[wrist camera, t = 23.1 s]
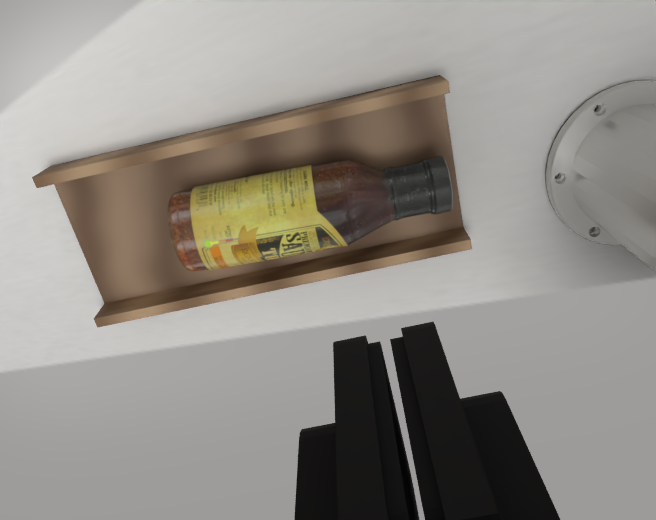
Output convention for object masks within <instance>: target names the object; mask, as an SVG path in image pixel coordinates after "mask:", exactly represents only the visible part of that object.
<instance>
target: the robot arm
mask: <svg viewBox="0 0 656 520" xmlns="http://www.w3.org/2000/svg"><path fill="white" fill-rule="evenodd" d="M596 105H598V109H597V110H596V111H594V108H595V106H596ZM558 173H559V176H558V177H557V178H555V176H556V175H557V174H558ZM546 187H547V191H548V195H549V199H550V202H551V204H552V206H553V208H554V210H555V212H556V214H557V215H558V216H559V217H560V219H561V220H562V221H563V222H564V223H565V224H566V225H567V226H568V227H569V228H570V229H571V230H572V231H574V232H575V233H577V234H578V235H580V236H582V237H583V238H585V239H587V240H590V241H593V242H596V243H599V244H606V245H613V246H614V245H623V246H625V247H626V248H627V249H628V250H629V251H631V252H632V253H633V254H634V255H636V256H637V257H638V258H639V259H640V260H642V261H643V262H644V263H645V264H646V265H648V266H649V267H650V268H651V269H653V270H654V271H655V272H656V81H652V80H644V81H632V82H627V83H623V84H619V85H616V86H614V87H611V88H609V89H607V90H604V91H602V92H600V93H599V94H597V95H595V96H594V97H592V98H591V99H589V100H588V101H586V102H585V103H584V104H583V105H582V106H581V107H579V108H578V109H577V110H576V111H575V112H574V113H573V114H572V115H571V116H570V118H569V119H568V120H567V121H566V123H565V124H564V125H563V126H562V128H561V130H560V131H559V133H558V135H557V137H556V139H555V140H554V142H553V145H552V148H551V151H550V154H549V157H548V162H547V169H546ZM591 228H593V229H592V230H590V229H591ZM401 330H402V334H403V337H400V338H395V339H390V341H391V346H392V351H393V356H394V361H395V366H396V371H397V377H398V382H399V387H400V392H401V398H402V403H403V408H404V413H405V418H406V423H407V429H408V433H409V439H410V444H411V449H412V454H413V460H414V465H415V469H416V475H417V480H418V486H419V491H420V496H421V501H422V506H423V511H424V516H425V520H560V518H559V516H558V514H557V511H556V509H555V507H554V505H553V502H552V500H551V498H550V496H549V494H548V491H547V490H546V487H545V485H544V483H543V480H542V478H541V476H540V474H539V472H538V469H537V467H536V466H535V463H534V461H533V458H532V456H531V454H530V452H529V450H528V447H527V445H526V443H525V441H524V439H523V436H522V434H521V432H520V430H519V427H518V425H517V423H516V421H515V419H514V416H513V414H512V412H511V410H510V408H509V406H508V404H507V401H506V399H505V397H504V395H503V394H502V392H500V391H498V392H494V393H488V394H483V395H478V396H472V397H467V398H462V399H460V398H459V395H458V392H457V389H456V386H455V383H454V380H453V377H452V374H451V371H450V368H449V365H448V362H447V360H446V356H445V353H444V350H443V348H442V345H441V342H440V339H439V336H438V333H437V330H436V327H435V324H434V322H429V323H424V324H420V325H415V326H410V327H405V328H401ZM333 348H334V349H333V351H334V389H335V423H332V424H327V425H322V426H317V427H311V428H306V429H302V430H301V432H300V437H299V453H298V471H297V488H296V504H295V505H296V506H295V520H419V516H418V510H417V505H416V499H415V494H414V488H413V483H412V478H411V473H410V469H409V464H408V460H407V456H406V451H405V447H404V442H403V438H402V434H401V429H400V425H399V421H398V417H397V413H396V408H395V403H394V399H393V395H392V391H391V386H390V382H389V378H388V373H387V369H386V365H385V360H384V356H383V352H382V347H381V344H380V342H376V343H370V344H368V341H367V338H366V336H361V337H356V338H351V339H347V340H341V341H336V342H334V343H333Z"/></svg>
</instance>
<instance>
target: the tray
mask: <svg viewBox="0 0 656 520" xmlns="http://www.w3.org/2000/svg"><path fill="white" fill-rule="evenodd" d="M447 93H450V90H449V83H448V80H446V79H445V78H443V77H441V76H440V75H439V76H435V77H430V78H426V79H422V80H418V81H413V82H409V83H405V84H400V85H396V86H392V87H388V88H383V89H379V90H375V91H370V92H366V93H362V94H358V95H353V96H349V97H345V98H340V99H336V100H332V101H328V102H323V103H319V104H315V105H310V106H306V107H302V108H298V109H293V110H289V111H285V112H280V113H276V114H272V115H268V116H263V117H259V118H255V119H250V120H246V121H242V122H238V123H233V124H229V125H225V126H220V127H216V128H212V129H208V130H203V131H199V132H195V133H190V134H186V135H182V136H178V137H173V138H169V139H165V140H160V141H156V142H152V143H148V144H143V145H139V146H135V147H130V148H126V149H122V150H118V151H113V152H109V153H105V154H100V155H96V156H92V157H88V158H83V159H79V160H75V161H71V162H66V163H62V164H58V165H53V166H50V167H48V168H47V169H45V170H44V171H42V172H40V173H39V174H37V175H36V176H34V177H32V178H33V181H34V183H35V185H36V187H37V188H39V187H44V186H48V185H52V184H54V185H55V187H56V190H57V192H58V194H59V197H60V199H61V201H62V204H63V206H64V209H65V211H66V213H67V216H68V218H69V220H70V223H71V225H72V227H73V230H74V232H75V234H76V237H77V239H78V242H79V244H80V246H81V249H82V251H83V253H84V256H85V258H86V260H87V263H88V265H89V268H90V270H91V272H92V275H93V277H94V279H95V282H96V284H97V286H98V289H99V291H100V294H101V296H102V298H103V301H104V303H105V304H104V305H103V307H102V308H101V309H100V311H99V312H98V314H97V315H96V316H95V318H94V320H95V323H96V325H97V327H102V326H106V325H111V324H116V323H121V322H126V321H130V320H135V319H140V318H145V317H149V316H154V315H159V314H164V313H169V312H173V311H178V310H183V309H188V308H192V307H197V306H202V305H207V304H212V303H216V302H221V301H226V300H231V299H235V298H240V297H245V296H250V295H255V294H259V293H264V292H269V291H274V290H278V289H283V288H288V287H293V286H298V285H302V284H307V283H312V282H317V281H321V280H326V279H331V278H336V277H341V276H345V275H350V274H355V273H360V272H365V271H369V270H374V269H379V268H384V267H388V266H393V265H398V264H403V263H408V262H412V261H417V260H422V259H427V258H431V257H436V256H441V255H446V254H451V253H455V252H460V251H465V250H470V249H472V245H471V239H470V238H469V236H468V234H467V233H466V231H465V229H464V228H463V222H462V216H461V209H460V202H459V195H458V188H457V181H456V174H455V168H454V161H453V154H452V147H451V140H450V133H449V126H448V120H447V113H446V106H445V99H444V94H447ZM439 156H442V157H444V158H445V161H446V164H447V166H448V170H449V173H450V178H451V184H452V191H453V207H452V210H451V211H449V212H445V213H441V214H436V215H435V214H431V213H428V214H422V215H417V216H411V217H406V218H402V219H399V220H397V221H396V220H393V221H392V222H390V223H388V224H386V225H384V226H382V227H380V228H378V229H376V230H375V231H373V232H371V233H369V234H367V235H366V236H364V237H362V238H360V239H359V240H357V241H355V242H353V243H351V244H350V245H348V246H343V247H338V248H333V249H327V250H321V251H316V252H310V253H305V254H299V255H294V256H289V257H282V258H277V259H272V260H266V261H260V262H254V263H249V264H243V265H238V266H232V267H227V268H221V269H216V270H201V271H190V270H187V269H186V268H185V267H184V266H183V265H182V264H181V262H180V260H179V259H178V257H177V255H176V252H175V249H174V247H173V245H172V243H171V239H170V232H169V226H168V219H167V212H168V203H169V200H170V199H171V196H172V195H173V194H174V193H176V192H179V191H183V190H189V189H193V188H194V187H196V186H201V185H206V184H211V183H216V182H221V181H227V180H233V179H238V178H243V177H248V176H253V175H259V174H264V173H270V172H275V171H281V170H286V169H291V168H297V167H302V166H307V165H313V166H316V165H322V164H328V163H333V162H335V161H345V160H352V161H356V162H361V163H364V164H365V165H366V166H368V167H372V168H376V169H379V170H383V169H385V168H388V167H399V166H404V165H410V164H415V163H418V162H420V161H422V160H425V159H428V158H433V157H439Z"/></svg>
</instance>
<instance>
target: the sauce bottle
mask: <svg viewBox="0 0 656 520" xmlns="http://www.w3.org/2000/svg"><path fill="white" fill-rule="evenodd" d="M452 207H453V191H452V184H451V178H450V173H449V170H448V166H447V164H446V161H445V158H444V157H442V156H439V157H433V158H428V159H425V160H422V161H420V162H418V163H415V164H410V165H404V166H399V167H388V168H385V169H383V170H379V169H376V168H372V167H368V166H366V165H365V164H364V163H361V162H356V161H352V160H345V161H335V162H333V163H328V164H322V165H316V166H313V165H307V166H302V167H297V168H291V169H286V170H281V171H275V172H270V173H264V174H259V175H253V176H248V177H243V178H238V179H233V180H227V181H221V182H216V183H211V184H206V185H201V186H196V187H194V188H193V189H189V190H183V191H179V192H176V193H174V194H173V195H172V196H171V199H170V200H169V203H168V212H167V219H168V226H169V232H170V239H171V243H172V245H173V247H174V249H175V252H176V255H177V257H178V259H179V260H180V262H181V264H182V265H183V266H184V267H185V268H186V269H187V270H190V271H201V270H216V269H221V268H227V267H232V266H238V265H243V264H249V263H254V262H260V261H266V260H272V259H277V258H282V257H289V256H294V255H299V254H305V253H310V252H316V251H321V250H327V249H333V248H338V247H343V246H348V245H350V244H351V243H353V242H355V241H357V240H359V239H360V238H362V237H364V236H366V235H367V234H369V233H371V232H373V231H375V230H376V229H378V228H380V227H382V226H384V225H386V224H388V223H390V222H392V221H393V220H396V221H397V220H399V219H402V218H406V217H411V216H417V215H422V214H428V213H431V214H435V215H436V214H441V213H445V212H449V211H451V210H452Z"/></svg>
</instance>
